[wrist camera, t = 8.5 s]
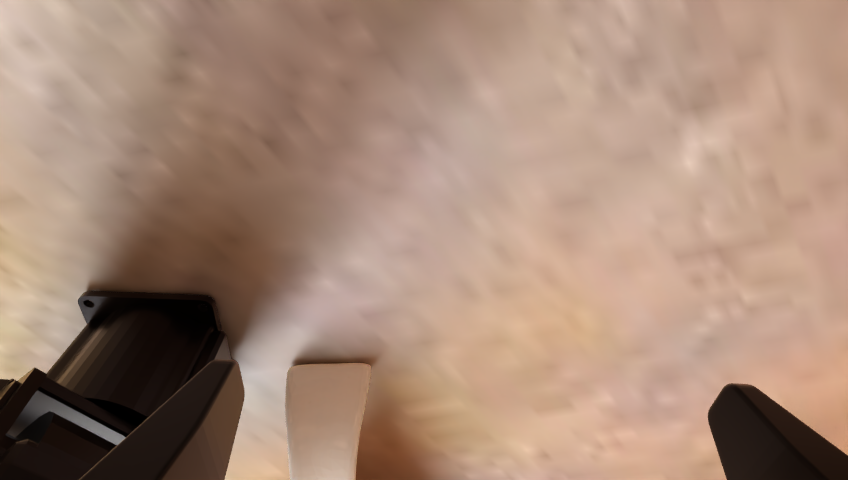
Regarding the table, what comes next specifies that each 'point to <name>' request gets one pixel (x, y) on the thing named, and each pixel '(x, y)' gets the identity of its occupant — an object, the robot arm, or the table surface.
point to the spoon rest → (325, 419)
